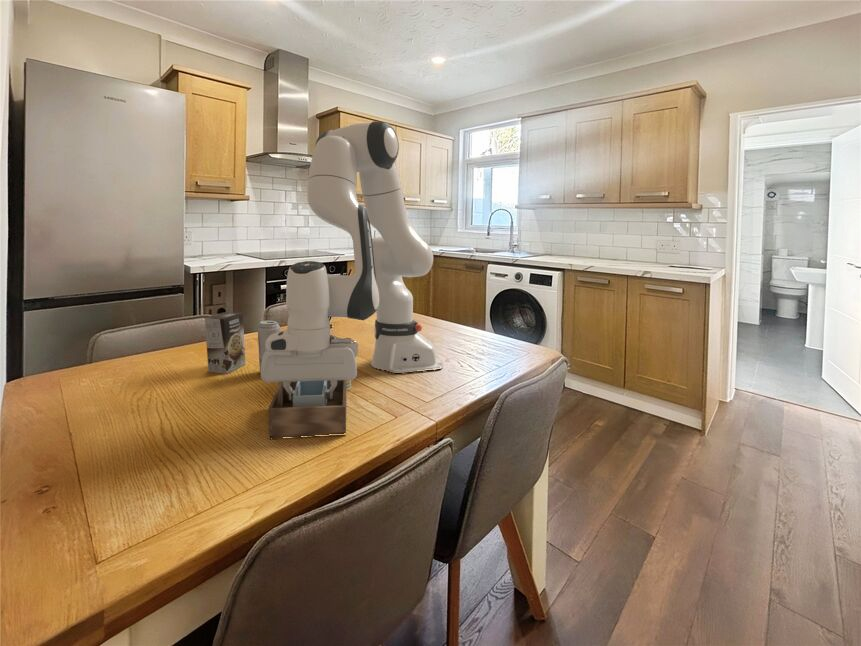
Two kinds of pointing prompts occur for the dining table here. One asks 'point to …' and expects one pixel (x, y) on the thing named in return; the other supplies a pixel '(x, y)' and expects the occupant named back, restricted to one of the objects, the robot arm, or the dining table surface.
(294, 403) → the small crate
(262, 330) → the energy drink can
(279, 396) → the large crate
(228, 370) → the coffee box
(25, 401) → the dining table surface
